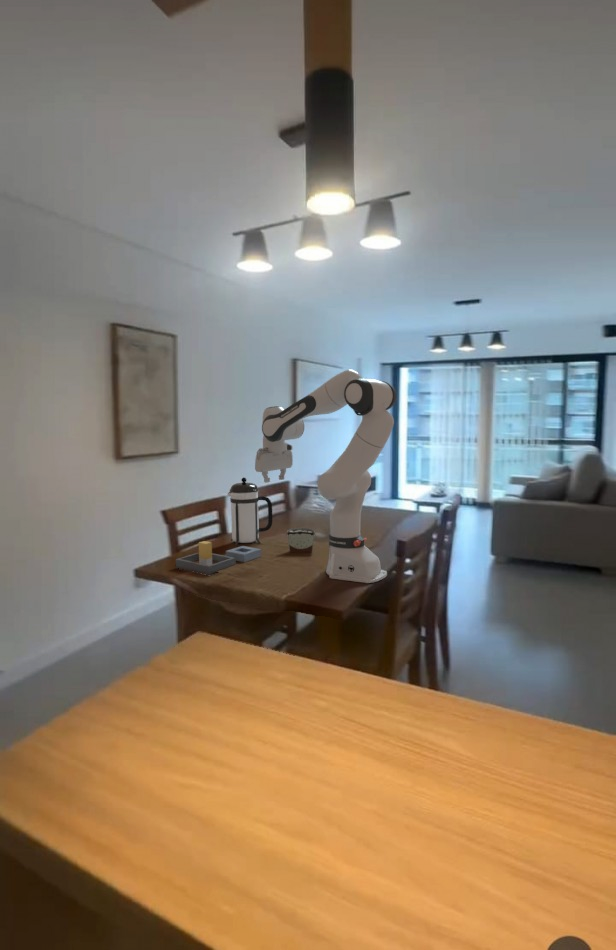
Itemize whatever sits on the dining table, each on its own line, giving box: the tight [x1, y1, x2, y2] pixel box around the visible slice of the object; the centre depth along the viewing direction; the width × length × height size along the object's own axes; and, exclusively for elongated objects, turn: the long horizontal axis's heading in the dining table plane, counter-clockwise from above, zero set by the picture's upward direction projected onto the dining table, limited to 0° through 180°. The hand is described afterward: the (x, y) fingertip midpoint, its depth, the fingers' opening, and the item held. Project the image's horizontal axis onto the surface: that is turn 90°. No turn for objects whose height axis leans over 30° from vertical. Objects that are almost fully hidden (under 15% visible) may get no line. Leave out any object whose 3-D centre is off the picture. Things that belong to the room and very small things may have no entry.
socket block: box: [225, 545, 262, 563], centre depth 221 cm, size 10×10×4 cm
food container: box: [285, 527, 316, 554], centre depth 231 cm, size 12×6×10 cm, turn 84°
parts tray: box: [175, 551, 237, 576], centre depth 211 cm, size 18×14×4 cm
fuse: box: [198, 540, 213, 565], centre depth 210 cm, size 4×3×9 cm
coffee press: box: [226, 477, 273, 546], centre depth 247 cm, size 17×16×30 cm
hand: (274, 481), depth 223 cm, fingers open, 8 cm apart
